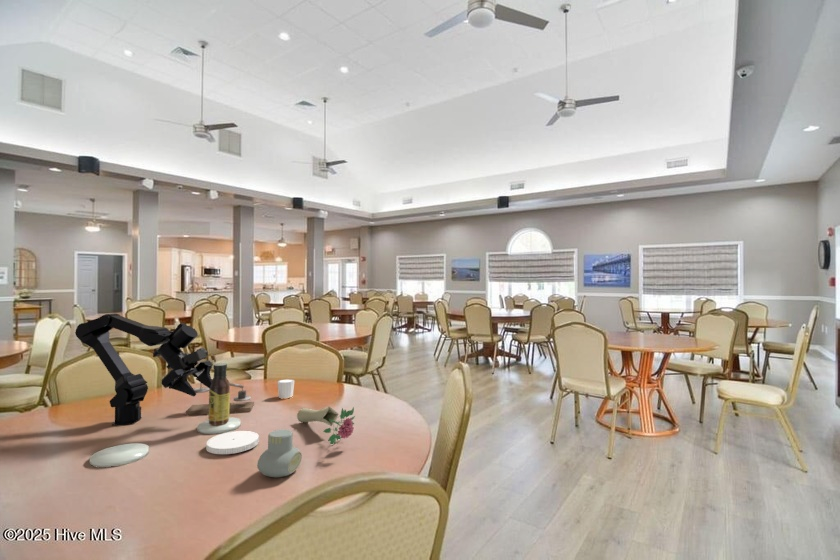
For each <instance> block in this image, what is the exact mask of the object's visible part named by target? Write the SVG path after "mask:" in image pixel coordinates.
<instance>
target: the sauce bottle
mask: <svg viewBox="0 0 840 560" xmlns="http://www.w3.org/2000/svg"><path fill="white" fill-rule="evenodd" d="M227 368H228V364H227V363H226V362H217V363H214V364H213V366H212V369H213V378H212V379H213V380H212V383H211V385H210V388H209V391H208V404H209V414H208V420H209V424H210V425H213V426H215V425H222V424H226V423H227V422H228V421H229V417H230V413H229V407H230V403H231V402H230V400H231V390H230V389H231V388H230V387H231V386H230V383H231V382H230V381H229V379H228V377H227Z"/></svg>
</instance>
